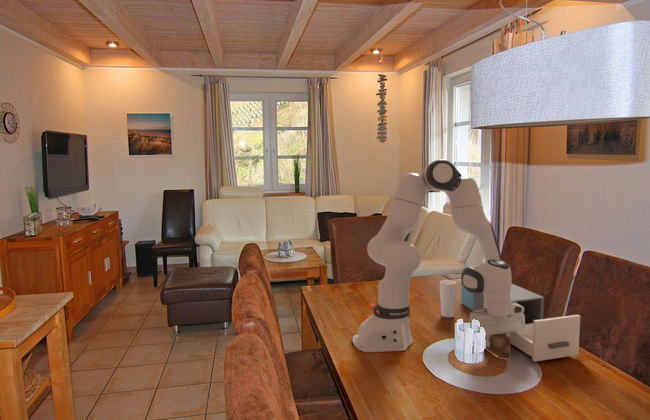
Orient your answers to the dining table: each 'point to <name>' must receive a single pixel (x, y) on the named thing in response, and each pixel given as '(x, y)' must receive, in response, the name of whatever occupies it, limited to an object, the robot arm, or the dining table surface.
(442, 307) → the drinking glass
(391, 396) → the dining table surface
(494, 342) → the walnut block
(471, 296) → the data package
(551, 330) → the drawer
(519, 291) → the cabinet
